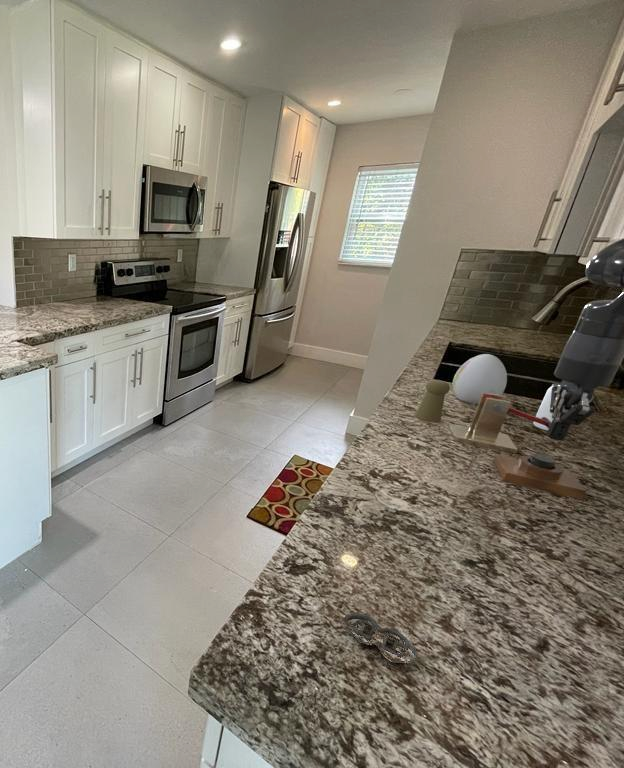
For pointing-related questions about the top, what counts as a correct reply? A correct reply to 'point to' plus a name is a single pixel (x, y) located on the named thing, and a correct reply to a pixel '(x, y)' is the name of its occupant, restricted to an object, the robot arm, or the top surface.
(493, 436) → the brass bookend
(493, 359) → the decorative egg
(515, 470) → the button block
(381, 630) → the corroded twin loop
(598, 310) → the robot arm
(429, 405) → the olive pepper shaker
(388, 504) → the top surface
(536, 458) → the button
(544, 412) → the can
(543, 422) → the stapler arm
